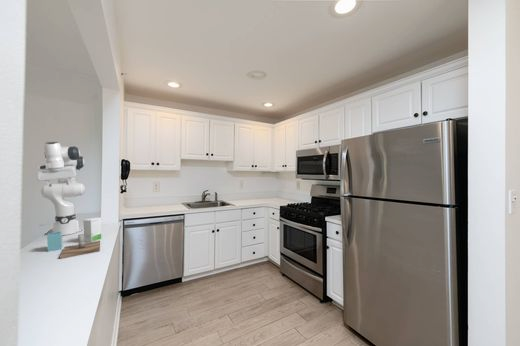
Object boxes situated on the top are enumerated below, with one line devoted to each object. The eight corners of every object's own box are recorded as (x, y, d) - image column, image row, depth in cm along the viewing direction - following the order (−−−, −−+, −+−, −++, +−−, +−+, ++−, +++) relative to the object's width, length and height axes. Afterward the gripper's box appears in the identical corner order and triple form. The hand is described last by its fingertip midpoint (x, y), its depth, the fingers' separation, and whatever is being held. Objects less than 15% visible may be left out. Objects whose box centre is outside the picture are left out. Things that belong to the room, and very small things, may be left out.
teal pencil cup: (49, 248, 141) (49, 233, 141) (62, 246, 145) (61, 231, 144) (47, 251, 136) (47, 235, 136) (61, 249, 140) (60, 233, 139)
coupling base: (64, 249, 140) (64, 234, 140) (100, 242, 150) (99, 228, 150) (60, 258, 125) (59, 242, 125) (99, 251, 136) (98, 235, 135)
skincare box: (91, 243, 150) (90, 220, 149) (83, 242, 151) (82, 220, 150) (102, 239, 158) (101, 217, 157) (94, 238, 159) (93, 217, 159)
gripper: (76, 164, 160) (79, 183, 161) (37, 167, 150) (41, 187, 151) (74, 164, 154) (77, 183, 155) (34, 167, 144) (37, 188, 145)
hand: (59, 185), depth 153 cm, fingers open, 8 cm apart
